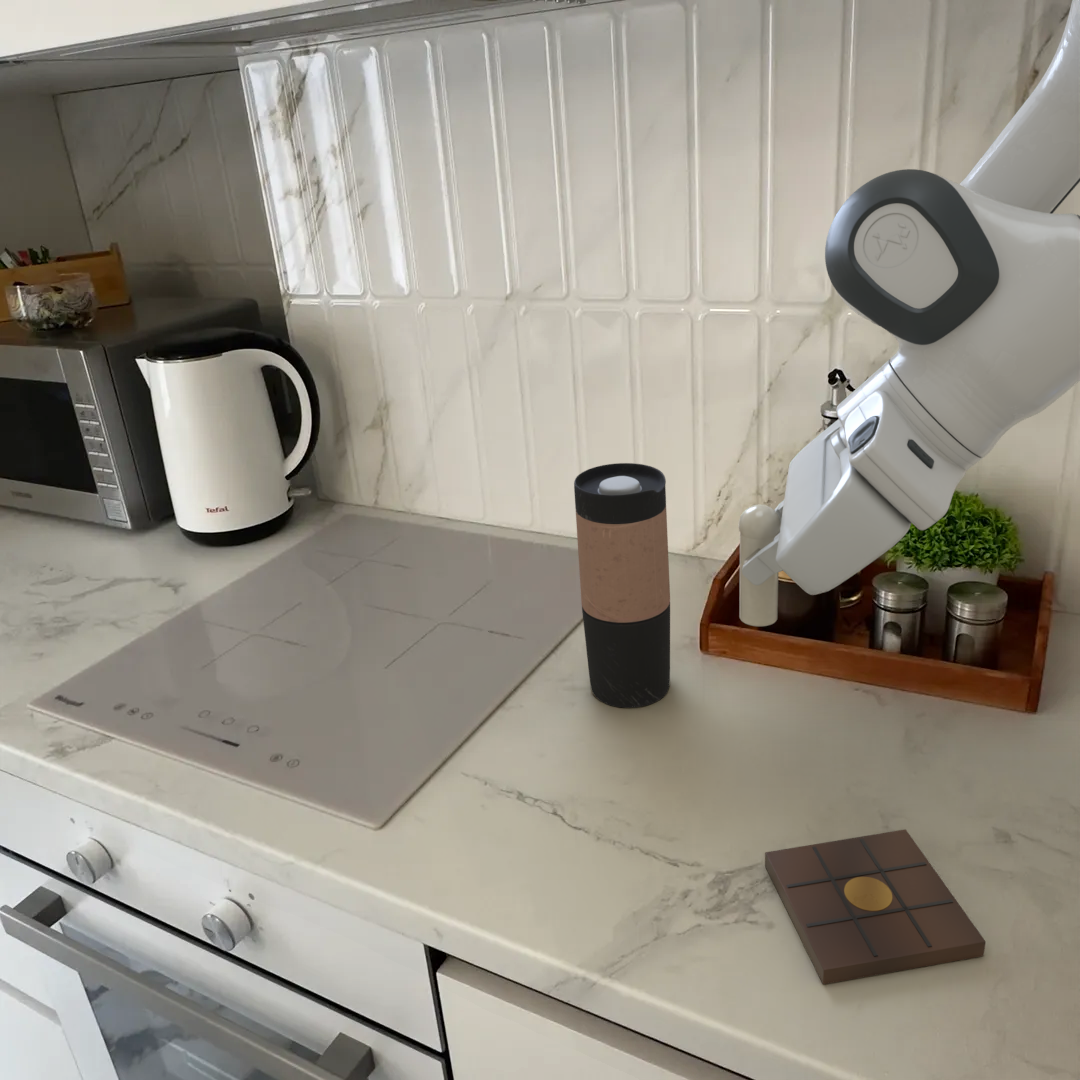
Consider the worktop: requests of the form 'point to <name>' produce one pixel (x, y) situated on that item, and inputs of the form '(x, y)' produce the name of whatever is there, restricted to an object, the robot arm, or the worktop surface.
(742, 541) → the white round-top peg
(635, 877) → the worktop surface
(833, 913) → the board
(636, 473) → the travel mug
